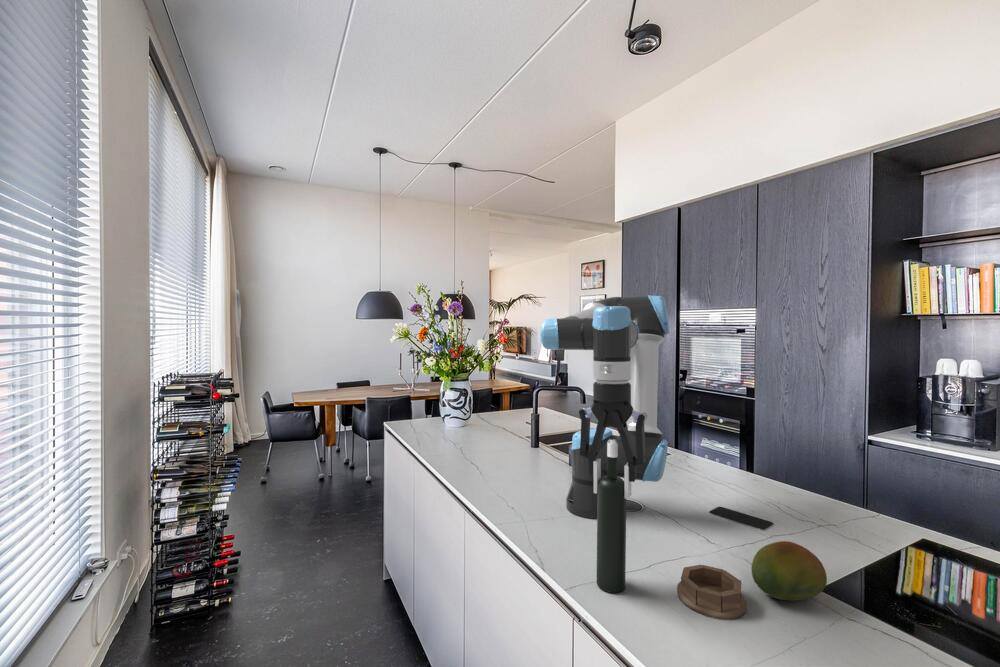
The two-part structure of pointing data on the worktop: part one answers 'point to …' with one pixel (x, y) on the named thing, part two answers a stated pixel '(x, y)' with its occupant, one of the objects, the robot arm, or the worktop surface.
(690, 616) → the worktop surface
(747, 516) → the smartphone
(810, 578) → the fruit
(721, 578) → the bowl
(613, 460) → the wine bottle
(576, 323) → the robot arm
